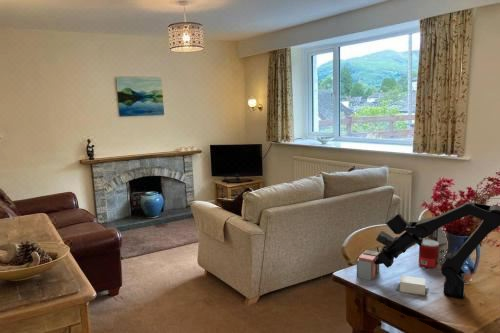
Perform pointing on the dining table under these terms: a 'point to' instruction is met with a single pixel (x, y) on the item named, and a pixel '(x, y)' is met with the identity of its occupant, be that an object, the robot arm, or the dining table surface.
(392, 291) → the dining table surface
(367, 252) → the walnut plug
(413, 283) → the cream rectangular block
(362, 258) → the salmon pink block
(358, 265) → the socket block
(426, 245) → the canned food
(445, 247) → the coffee box
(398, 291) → the rubber mat
